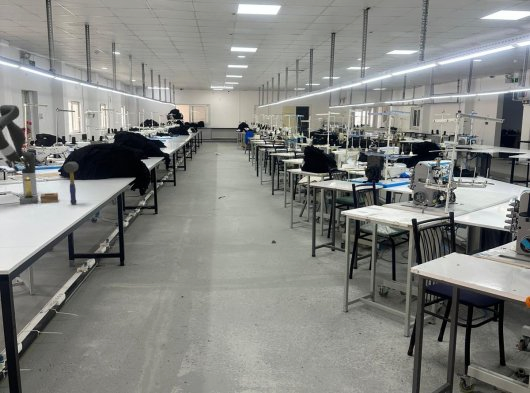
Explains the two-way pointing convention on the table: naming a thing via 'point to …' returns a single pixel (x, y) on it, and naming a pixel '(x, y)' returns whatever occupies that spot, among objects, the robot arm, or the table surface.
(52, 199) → the block
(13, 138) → the robot arm
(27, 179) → the brass peg
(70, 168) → the rubber mallet
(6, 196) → the table surface
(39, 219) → the table surface
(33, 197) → the socket block
